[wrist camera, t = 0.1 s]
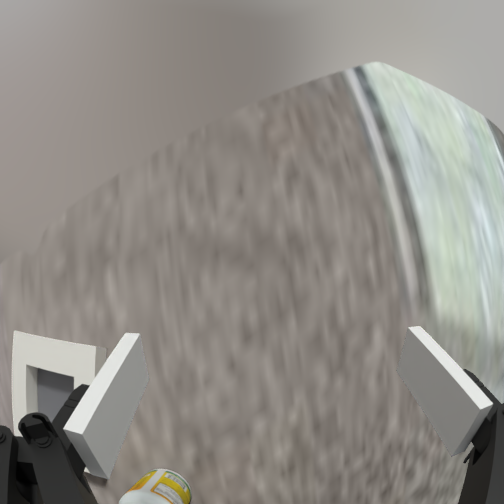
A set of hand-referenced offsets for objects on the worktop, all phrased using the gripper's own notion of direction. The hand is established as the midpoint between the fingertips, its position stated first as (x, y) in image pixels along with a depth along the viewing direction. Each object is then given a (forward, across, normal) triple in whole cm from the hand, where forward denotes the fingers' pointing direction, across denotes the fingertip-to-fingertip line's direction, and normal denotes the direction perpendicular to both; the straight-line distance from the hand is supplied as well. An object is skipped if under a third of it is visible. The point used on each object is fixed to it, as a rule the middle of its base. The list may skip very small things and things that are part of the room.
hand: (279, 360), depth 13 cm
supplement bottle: (+4, +10, +21) cm, 23 cm away
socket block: (+8, +22, +14) cm, 28 cm away
